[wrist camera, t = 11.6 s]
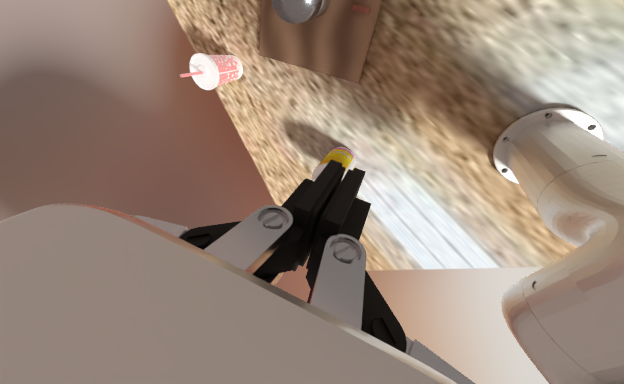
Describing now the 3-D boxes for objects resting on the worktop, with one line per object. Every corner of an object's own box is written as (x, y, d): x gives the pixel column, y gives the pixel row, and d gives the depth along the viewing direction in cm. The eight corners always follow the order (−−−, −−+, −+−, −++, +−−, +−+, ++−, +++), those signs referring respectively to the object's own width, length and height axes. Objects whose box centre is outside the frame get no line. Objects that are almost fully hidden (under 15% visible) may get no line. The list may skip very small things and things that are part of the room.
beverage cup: (220, 48, 50) (162, 52, 39) (245, 53, 48) (192, 58, 37) (223, 80, 53) (171, 91, 42) (246, 85, 52) (198, 98, 41)
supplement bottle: (325, 147, 52) (301, 173, 42) (354, 144, 49) (336, 171, 39) (330, 174, 55) (309, 204, 45) (359, 173, 52) (342, 205, 42)
